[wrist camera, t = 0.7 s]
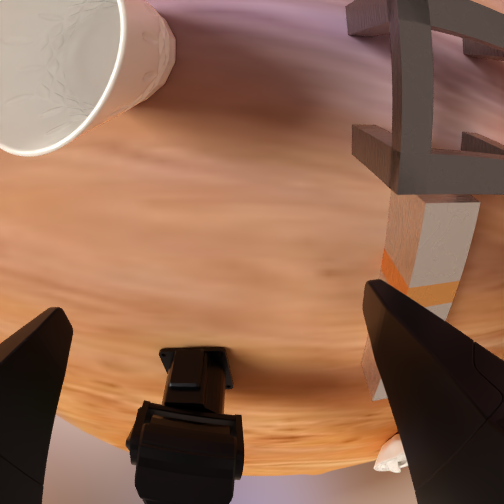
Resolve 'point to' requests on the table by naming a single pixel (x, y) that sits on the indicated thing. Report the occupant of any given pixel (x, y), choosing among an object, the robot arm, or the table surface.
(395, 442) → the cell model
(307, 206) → the table surface
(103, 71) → the white cup
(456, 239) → the grey rectangular bar
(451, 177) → the grey c-shaped bracket
